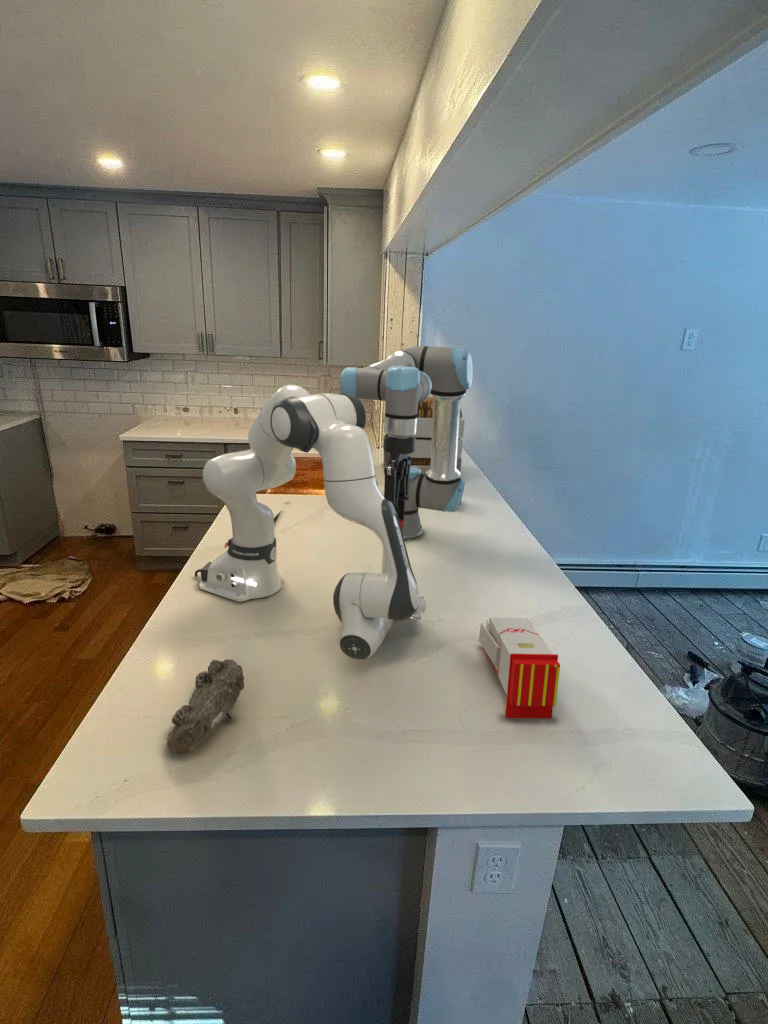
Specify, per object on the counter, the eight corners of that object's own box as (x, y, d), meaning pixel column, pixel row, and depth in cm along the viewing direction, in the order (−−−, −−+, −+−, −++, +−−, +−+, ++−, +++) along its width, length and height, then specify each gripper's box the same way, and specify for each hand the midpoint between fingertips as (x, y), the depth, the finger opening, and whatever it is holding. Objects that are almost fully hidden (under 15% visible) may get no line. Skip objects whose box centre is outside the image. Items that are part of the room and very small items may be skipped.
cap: (383, 526, 141) (384, 519, 140) (396, 523, 143) (397, 517, 142) (392, 531, 138) (393, 524, 137) (406, 528, 140) (406, 522, 139)
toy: (525, 603, 136) (569, 660, 107) (520, 654, 139) (562, 725, 109) (475, 601, 135) (505, 659, 106) (471, 653, 138) (499, 724, 109)
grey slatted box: (382, 463, 289) (386, 382, 275) (445, 464, 293) (451, 384, 279) (390, 482, 257) (394, 392, 243) (460, 483, 261) (468, 394, 247)
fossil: (192, 660, 117) (244, 628, 112) (224, 691, 120) (276, 661, 115) (142, 746, 98) (202, 712, 93) (182, 779, 101) (242, 748, 96)
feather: (288, 505, 226) (290, 501, 226) (271, 529, 199) (273, 524, 199) (284, 503, 226) (287, 499, 225) (266, 526, 199) (269, 522, 199)
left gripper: (420, 609, 131) (432, 583, 143) (337, 594, 136) (356, 570, 148) (418, 633, 133) (430, 605, 145) (336, 617, 138) (355, 592, 150)
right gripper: (396, 426, 141) (392, 515, 149) (371, 439, 126) (367, 537, 134) (425, 430, 139) (419, 519, 146) (403, 443, 124) (397, 542, 132)
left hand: (392, 587), depth 147 cm, fingers closed on bottle, 5 cm apart
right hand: (394, 527), depth 140 cm, fingers closed on cap, 4 cm apart
